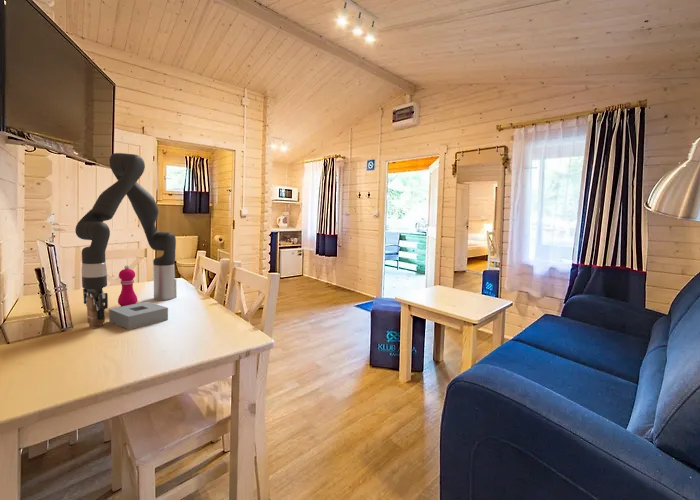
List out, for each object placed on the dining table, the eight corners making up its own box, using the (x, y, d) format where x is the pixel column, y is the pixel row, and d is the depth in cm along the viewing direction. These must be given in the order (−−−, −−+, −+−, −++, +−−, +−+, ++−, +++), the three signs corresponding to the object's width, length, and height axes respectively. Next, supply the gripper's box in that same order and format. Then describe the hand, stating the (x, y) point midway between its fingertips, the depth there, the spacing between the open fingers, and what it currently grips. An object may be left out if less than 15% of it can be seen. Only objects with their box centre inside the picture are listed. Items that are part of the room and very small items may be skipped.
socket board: (148, 312, 149) (147, 301, 148) (167, 319, 141) (167, 307, 141) (109, 321, 136) (108, 309, 136) (129, 329, 129) (128, 316, 128)
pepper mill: (122, 313, 146) (120, 267, 144) (115, 310, 150) (114, 265, 148) (140, 310, 152) (139, 265, 149) (133, 307, 156) (132, 263, 154)
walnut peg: (100, 323, 133) (98, 293, 132) (105, 326, 131) (104, 295, 130) (87, 326, 130) (86, 295, 128) (92, 328, 128) (91, 297, 126)
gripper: (115, 275, 128) (116, 319, 129) (96, 270, 135) (98, 311, 137) (91, 278, 121) (93, 324, 123) (73, 273, 129) (75, 316, 130)
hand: (96, 317), depth 130 cm, fingers open, 7 cm apart
